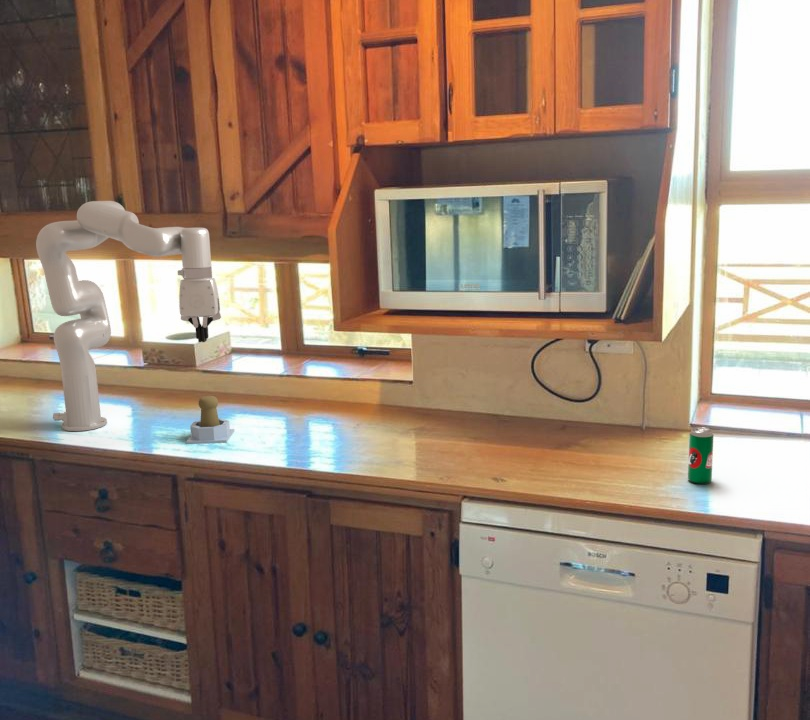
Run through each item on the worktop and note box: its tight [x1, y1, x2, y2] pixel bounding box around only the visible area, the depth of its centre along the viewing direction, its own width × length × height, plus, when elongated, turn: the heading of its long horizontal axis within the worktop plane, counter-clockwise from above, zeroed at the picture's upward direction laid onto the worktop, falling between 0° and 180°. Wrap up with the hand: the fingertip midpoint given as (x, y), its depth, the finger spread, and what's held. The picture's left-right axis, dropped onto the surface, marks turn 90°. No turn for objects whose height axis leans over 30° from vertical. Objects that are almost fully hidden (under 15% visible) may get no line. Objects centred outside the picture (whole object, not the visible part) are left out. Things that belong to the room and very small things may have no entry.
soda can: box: [687, 426, 714, 485], centre depth 191 cm, size 5×5×12 cm
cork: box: [198, 395, 220, 427], centre depth 237 cm, size 6×6×11 cm
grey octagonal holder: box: [185, 417, 235, 445], centre depth 238 cm, size 11×11×4 cm
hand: (202, 341), depth 234 cm, fingers closed
